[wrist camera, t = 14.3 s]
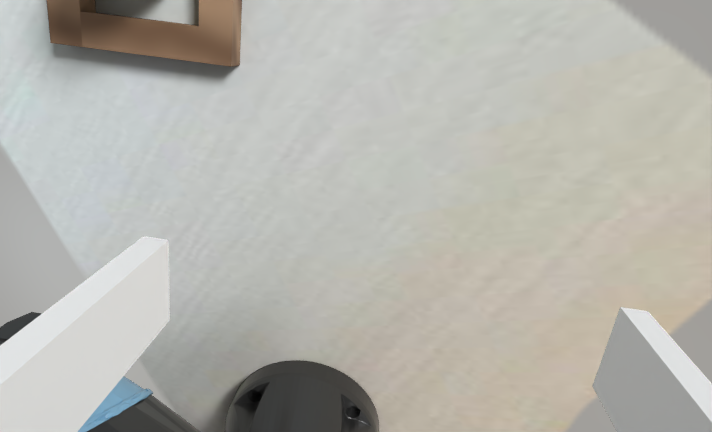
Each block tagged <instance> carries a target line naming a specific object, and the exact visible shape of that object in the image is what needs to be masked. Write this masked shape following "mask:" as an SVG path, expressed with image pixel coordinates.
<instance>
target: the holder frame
mask: <svg viewBox="0 0 712 432" xmlns="http://www.w3.org/2000/svg"><path fill="white" fill-rule="evenodd" d="M47 8H48V19H49V30H50V40H51V43H56V44H64V45H71V46H79V47H87V48H94V49H102V50H109V51H117V52H125V53H132V54H140V55H147V56H155V57H163V58H170V59H178V60H185V61H193V62H201V63H208V64H216V65H224V66H237V65H240V40H241V10H242V0H199V26H196V25H189V24H181V23H173V22H165V21H157V20H149V19H142V18H134V17H126V16H118V15H110V14H103V13H96V8H95V0H47Z"/></svg>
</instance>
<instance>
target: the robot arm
mask: <svg viewBox="0 0 712 432" xmlns="http://www.w3.org/2000/svg"><path fill="white" fill-rule="evenodd" d="M169 321H170V293H169V240H166V239H159V238H152V237H146V236H143V237H142V238H140V239H139V240H138V241H136V242H135V243H134V244H133V245H131V246H130V247H129V248H127V249H126V250H125V251H123V252H122V253H121V254H119V255H118V256H117V257H116V258H114V259H113V260H112V261H110V262H109V263H108V264H106V265H105V266H104V267H102V268H101V269H100V270H99V271H97V272H96V273H95V274H93V275H92V276H91V277H89V278H88V279H87V280H85V281H84V282H83V283H82V284H80V285H79V286H78V287H76V288H75V289H74V290H73V291H71V292H70V293H68V294H67V295H66V296H64V297H63V298H62V299H61V300H59V301H58V302H57V303H55V304H54V305H53V306H51V307H50V308H49V309H48V310H46V311H45V312H44V313H42V314H41V313H34V312H31V313H29V314H26V315H24V316H22V317H19V318H17V319H14V320H12V321H10V322H7V323H6V324H4V325H3V326H2V327H1V328H0V432H200V431H199V430H198V429H196V428H195V427H194V426H192V425H191V424H190V423H188V422H187V421H186V420H184V419H183V418H182V417H180V416H179V415H178V414H176V413H175V412H174V411H172V410H171V409H170V408H168V407H167V406H166V405H164V404H163V403H161V402H160V401H159V400H158V399H156V398H155V397H154V396H152V395H151V394H153V392H152V391H151V390H150V389H143V388H141V387H140V386H138V385H137V384H135V383H134V382H132V381H131V380H129V379H127V378H126V377H124V375H125V374H126V372H127V371H128V370H129V369H130V368H131V366H132V365H133V364H134V363H135V362H136V360H137V359H138V358H139V357H140V356H141V354H142V353H143V352H144V351H145V350H146V348H147V347H148V346H149V345H150V344H151V342H152V341H153V340H154V339H155V337H156V336H157V335H158V334H159V333H160V331H161V330H162V329H163V328H164V327H165V325H166V324H167V323H168V322H169ZM593 388H594V390H595V392H596V394H597V396H598V397H599V399H600V401H601V403H602V405H603V406H604V409H605V410H606V412H607V414H608V416H609V418H610V420H611V422H612V424H613V425H614V427H615V429H616V431H617V432H712V383H711V382H710V381H709V380H708V379H707V378H706V377H705V376H704V374H703V373H702V372H701V371H700V370H699V369H698V368H697V366H696V365H695V364H694V363H693V362H692V361H691V360H690V359H689V357H688V356H687V355H686V354H685V353H684V352H683V351H682V349H681V348H680V347H679V346H678V345H677V344H676V343H675V341H674V340H673V339H672V338H671V337H670V336H669V335H668V334H667V332H666V331H665V330H664V329H663V328H662V327H661V326H660V324H659V323H658V322H657V321H656V320H655V319H654V318H653V317H652V315H651V314H650V313H649V312H648V311H642V310H636V309H629V308H622V307H620V309H619V312H618V315H617V318H616V321H615V324H614V327H613V329H612V332H611V335H610V338H609V341H608V344H607V346H606V349H605V352H604V355H603V358H602V361H601V363H600V366H599V369H598V372H597V375H596V378H595V380H594V383H593ZM225 432H379V420H378V415H377V412H376V409H375V407H374V404H373V403H372V401H371V399H370V397H369V396H368V395H367V393H366V392H365V391H364V390H363V389H362V387H361V386H359V385H358V384H357V383H356V382H355V381H354V380H353V379H351V378H350V377H348V376H347V375H345V374H344V373H342V372H340V371H338V370H336V369H334V368H331V367H329V366H326V365H323V364H319V363H314V362H308V361H285V362H279V363H275V364H271V365H269V366H266V367H264V368H262V369H260V370H258V371H256V372H255V373H253V374H252V375H251V376H249V377H248V378H247V379H246V380H245V381H244V382H243V383H242V385H241V386H240V387H239V389H238V391H237V393H236V395H235V397H234V399H233V401H232V403H231V405H230V408H229V410H228V413H227V417H226V422H225Z"/></svg>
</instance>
